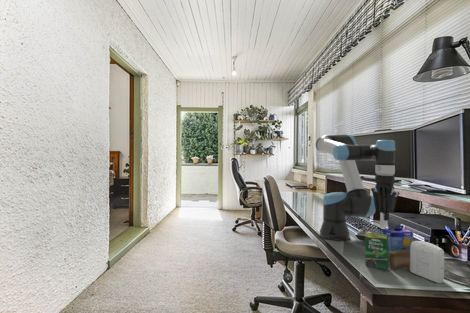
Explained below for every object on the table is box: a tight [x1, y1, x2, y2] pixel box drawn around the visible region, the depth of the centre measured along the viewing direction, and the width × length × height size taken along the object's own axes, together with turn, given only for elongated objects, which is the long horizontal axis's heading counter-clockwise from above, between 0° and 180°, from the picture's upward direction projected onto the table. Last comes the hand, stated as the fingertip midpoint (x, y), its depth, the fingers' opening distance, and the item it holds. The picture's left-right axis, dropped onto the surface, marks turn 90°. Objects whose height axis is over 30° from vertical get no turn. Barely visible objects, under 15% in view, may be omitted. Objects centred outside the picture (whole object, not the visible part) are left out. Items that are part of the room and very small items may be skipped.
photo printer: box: [409, 240, 445, 284], centre depth 92 cm, size 10×4×12 cm, turn 24°
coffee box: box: [364, 231, 390, 271], centre depth 100 cm, size 8×3×13 cm, turn 49°
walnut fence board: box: [389, 249, 410, 271], centre depth 102 cm, size 2×20×6 cm, turn 108°
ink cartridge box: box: [382, 224, 413, 255], centre depth 108 cm, size 10×6×14 cm, turn 98°
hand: (383, 226), depth 115 cm, fingers closed
